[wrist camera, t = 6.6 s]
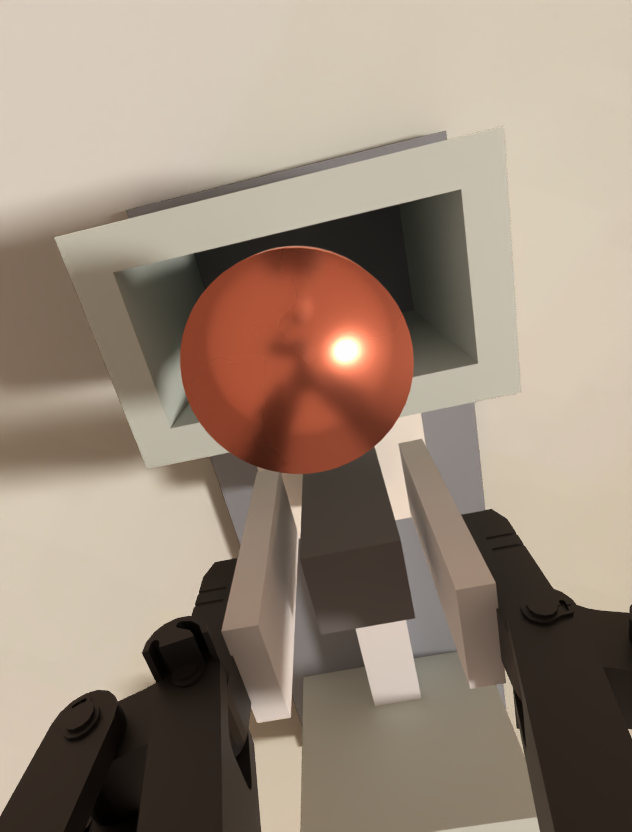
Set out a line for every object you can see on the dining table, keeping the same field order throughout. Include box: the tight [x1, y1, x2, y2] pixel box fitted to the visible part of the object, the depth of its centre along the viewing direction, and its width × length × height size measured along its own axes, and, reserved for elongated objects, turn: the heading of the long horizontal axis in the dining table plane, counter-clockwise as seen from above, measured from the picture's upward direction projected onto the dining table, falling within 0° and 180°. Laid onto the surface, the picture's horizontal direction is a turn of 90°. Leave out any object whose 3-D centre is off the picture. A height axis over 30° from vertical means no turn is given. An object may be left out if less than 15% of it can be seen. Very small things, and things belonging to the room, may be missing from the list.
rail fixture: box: [54, 126, 540, 832], centre depth 19 cm, size 32×12×10 cm, turn 12°
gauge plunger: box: [180, 246, 414, 474], centre depth 11 cm, size 4×4×9 cm
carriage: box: [257, 413, 426, 635], centre depth 16 cm, size 5×6×10 cm
